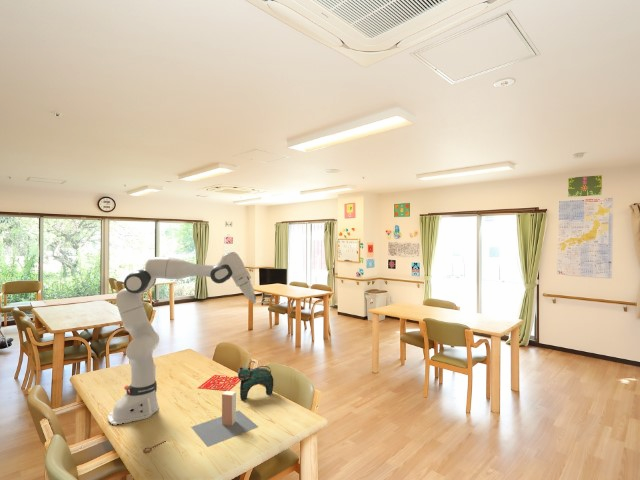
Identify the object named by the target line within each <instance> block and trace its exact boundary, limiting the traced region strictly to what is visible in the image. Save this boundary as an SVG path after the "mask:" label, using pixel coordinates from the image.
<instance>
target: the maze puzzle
mask: <svg viewBox="0 0 640 480" xmlns="http://www.w3.org/2000/svg"><path fill="white" fill-rule="evenodd" d="M214 376H215V377H214ZM220 376H223V374H222V375H219V374H218V375H217V374H214V375H212V376H211V377H210V378H208V379H207V380H205V381H204V382H203V383H202V384H200V385H199V386H198V387H197V389H202V390H212V391H221V392H222V391H224V392H226V391H231V390H232V389H233V388H234V387H235V386H236V385H237V384H239V382H241V380H240V379H239V378H238V376H234V377H235V378H233V377H231V378H232V379H231V378H229V377H227V376H228V375H225V376H226V377H220ZM210 379H211V380H210ZM218 379H220V380H218ZM227 379H228V380H227ZM215 380H216V381H215ZM223 380H225V381H223ZM225 382H226V383H225Z"/></svg>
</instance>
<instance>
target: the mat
mask: <svg viewBox="0 0 640 480" xmlns="http://www.w3.org/2000/svg"><path fill="white" fill-rule="evenodd" d="M190 428H191V429H192V430H193V432H194V433H195V434H196V435H197V436H198V437H199V439H200V440H201V441H202V442H203V443H204V444H205V446H206V447H207V448H208V447H211V446H215V445H216V444H218V443H221V442H224V441H227V440H229V439H232V438H235V437H236V436H238V435H242V434H244V433H247V432H249V431H252V430H254V429H255V430H256V428H259V425H257V423H255V422H253V421H252V420H251V419H250V418H249V417H248V416H246V415H245V414H244V413H243V412H242V411H241V410H236V422H235V423H234V424H233V425H232V426H229V425H223V424H222V415H221V416H218V417H216V418H212V419H211V420H208V421H205V422H201V423H199V424H195V425H193V426H192V425H191V426H190Z"/></svg>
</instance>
